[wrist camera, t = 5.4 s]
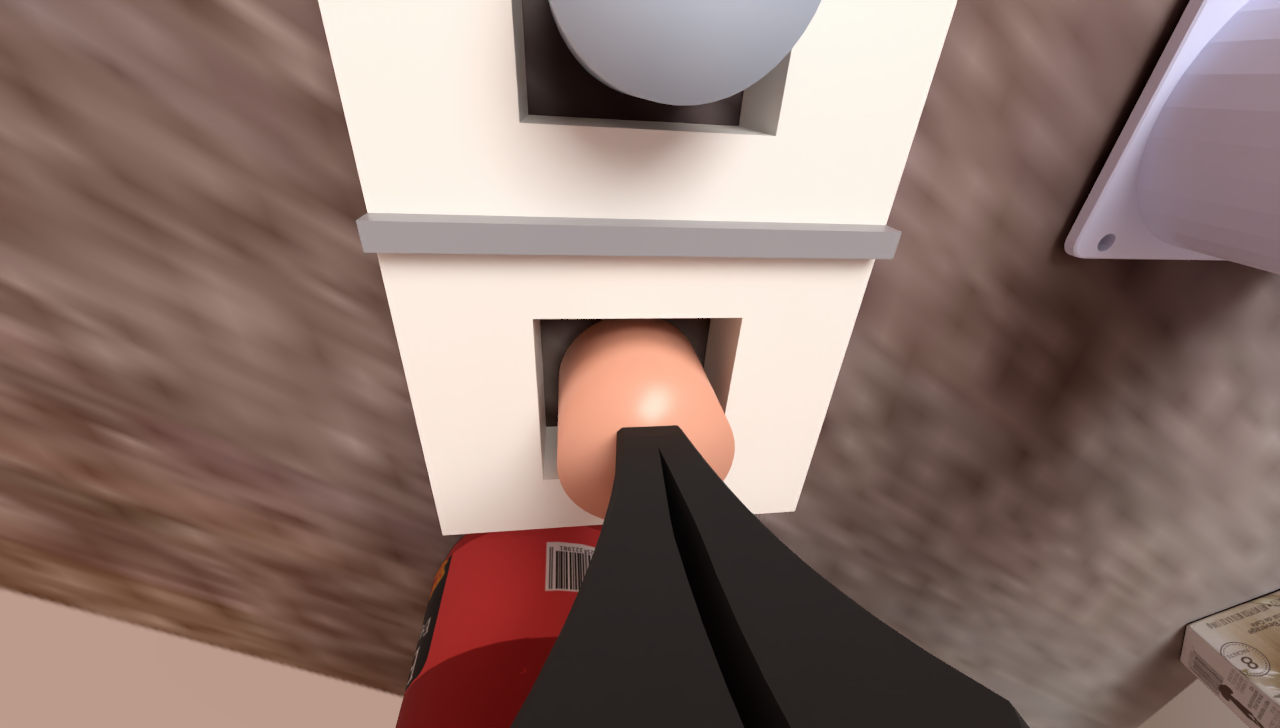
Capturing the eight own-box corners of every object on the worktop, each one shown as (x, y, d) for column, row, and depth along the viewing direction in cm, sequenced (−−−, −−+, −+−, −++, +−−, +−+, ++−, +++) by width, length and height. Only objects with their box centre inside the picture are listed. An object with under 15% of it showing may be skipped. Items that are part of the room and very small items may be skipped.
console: (965, -307, 8) (1141, -478, 6) (768, 461, 18) (802, 525, 15) (282, -447, 7) (113, -764, 4) (458, 477, 16) (437, 552, 13)
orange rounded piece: (706, 313, 13) (748, 384, 10) (690, 430, 15) (721, 518, 12) (556, 314, 12) (553, 390, 9) (561, 435, 14) (559, 529, 11)
